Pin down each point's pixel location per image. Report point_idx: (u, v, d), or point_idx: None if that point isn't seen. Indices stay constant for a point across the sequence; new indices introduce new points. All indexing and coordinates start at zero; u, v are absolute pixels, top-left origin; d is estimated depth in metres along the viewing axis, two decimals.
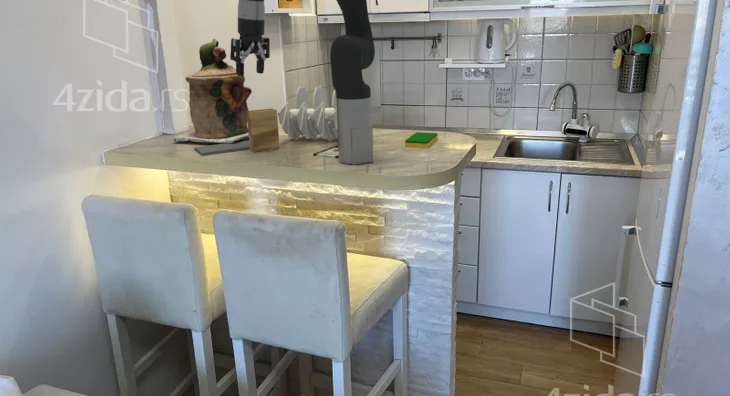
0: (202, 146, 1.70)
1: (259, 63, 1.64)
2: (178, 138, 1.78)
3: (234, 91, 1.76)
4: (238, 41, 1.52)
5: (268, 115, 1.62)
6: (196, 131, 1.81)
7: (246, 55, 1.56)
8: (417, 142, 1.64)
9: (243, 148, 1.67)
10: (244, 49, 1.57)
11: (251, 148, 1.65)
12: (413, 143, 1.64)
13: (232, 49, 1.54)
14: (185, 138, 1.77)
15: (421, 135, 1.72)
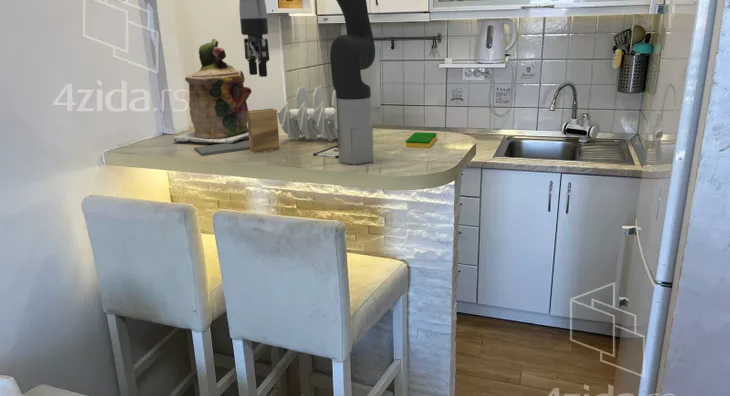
0: (202, 146, 1.70)
1: (252, 65, 1.62)
2: (178, 138, 1.78)
3: (234, 91, 1.76)
4: (267, 40, 1.52)
5: (268, 115, 1.62)
6: (196, 131, 1.81)
7: (265, 55, 1.56)
8: (418, 142, 1.64)
9: (243, 148, 1.67)
10: None
11: (251, 148, 1.65)
12: (414, 143, 1.64)
13: (262, 49, 1.51)
14: (185, 138, 1.77)
15: (421, 135, 1.72)
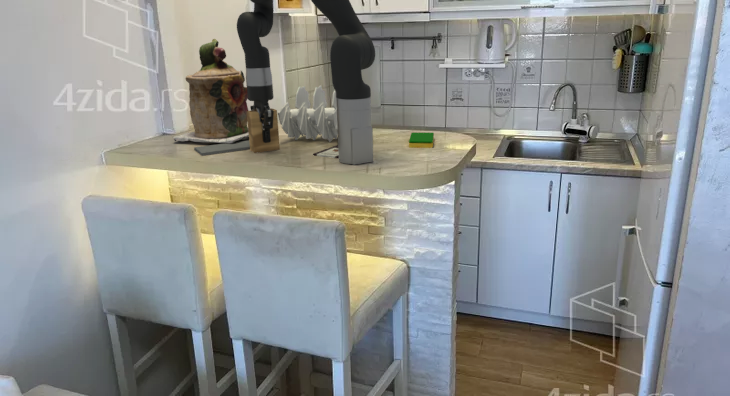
0: (202, 146, 1.70)
1: None
2: (178, 138, 1.78)
3: (234, 91, 1.76)
4: (273, 112, 1.58)
5: None
6: (196, 131, 1.81)
7: None
8: (422, 142, 1.64)
9: (243, 148, 1.67)
10: None
11: (251, 147, 1.65)
12: (418, 143, 1.64)
13: (267, 120, 1.58)
14: (185, 138, 1.77)
15: (420, 135, 1.72)
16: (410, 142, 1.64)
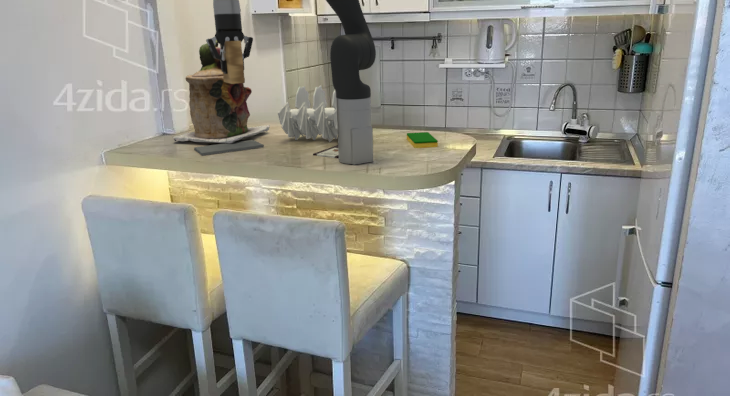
0: (202, 146, 1.70)
1: None
2: (178, 138, 1.78)
3: (234, 91, 1.76)
4: None
5: None
6: (196, 131, 1.81)
7: None
8: (427, 142, 1.64)
9: (243, 148, 1.67)
10: None
11: (236, 79, 1.61)
12: (423, 143, 1.64)
13: None
14: (185, 138, 1.77)
15: (419, 135, 1.71)
16: (416, 143, 1.63)
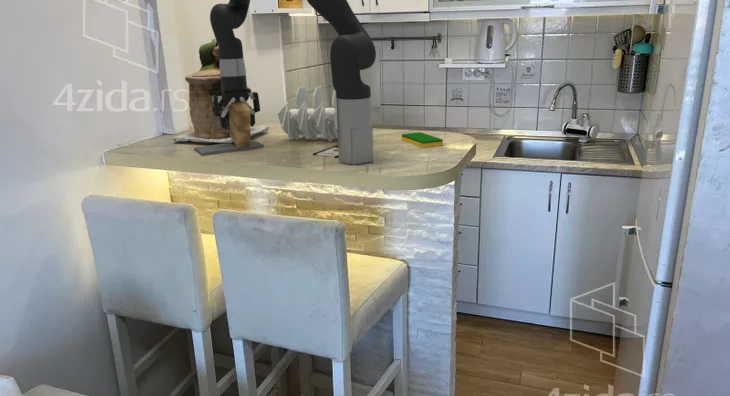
0: (202, 146, 1.70)
1: None
2: (178, 138, 1.78)
3: None
4: None
5: None
6: (196, 131, 1.81)
7: None
8: (434, 141, 1.64)
9: (243, 148, 1.67)
10: None
11: (242, 143, 1.67)
12: (431, 143, 1.64)
13: None
14: (185, 138, 1.77)
15: (417, 135, 1.71)
16: (424, 142, 1.63)
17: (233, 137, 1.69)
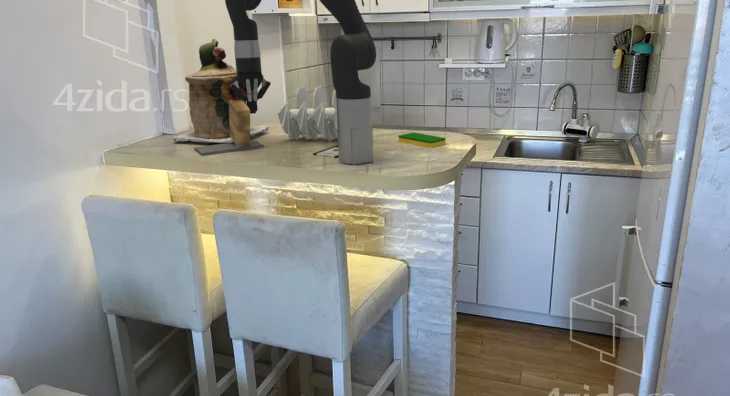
0: (202, 146, 1.70)
1: None
2: (178, 138, 1.78)
3: None
4: None
5: None
6: (196, 131, 1.81)
7: None
8: (439, 140, 1.65)
9: (243, 148, 1.67)
10: None
11: (242, 143, 1.67)
12: (436, 142, 1.65)
13: None
14: (185, 138, 1.77)
15: (416, 136, 1.71)
16: (431, 142, 1.63)
17: (233, 137, 1.69)
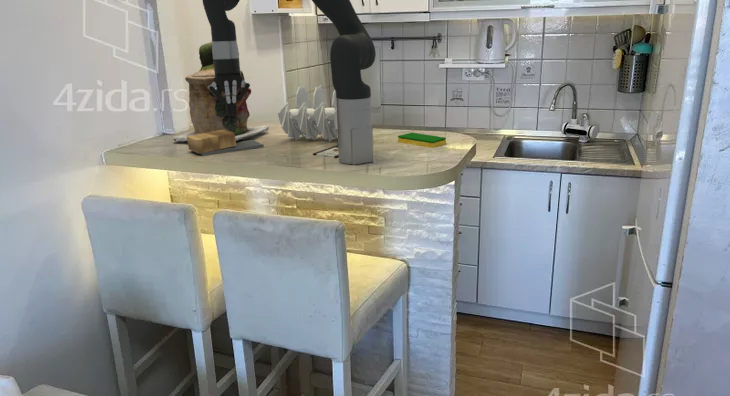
0: None
1: None
2: (178, 138, 1.78)
3: None
4: None
5: (194, 136, 1.64)
6: (196, 131, 1.81)
7: None
8: (440, 140, 1.66)
9: (243, 148, 1.67)
10: None
11: (232, 141, 1.66)
12: (437, 142, 1.65)
13: None
14: (185, 138, 1.77)
15: (416, 136, 1.71)
16: (433, 142, 1.63)
17: None
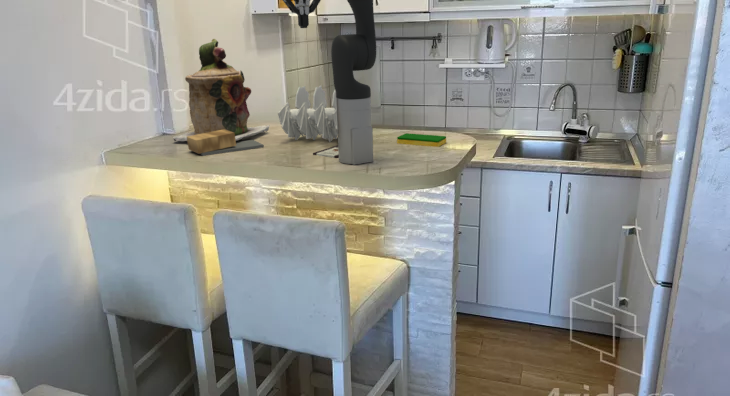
0: None
1: None
2: (178, 138, 1.78)
3: (234, 91, 1.76)
4: None
5: (194, 137, 1.64)
6: (196, 131, 1.81)
7: None
8: (443, 139, 1.67)
9: (243, 148, 1.67)
10: None
11: (232, 140, 1.66)
12: (441, 141, 1.66)
13: None
14: (185, 138, 1.77)
15: (416, 136, 1.70)
16: (439, 141, 1.64)
17: None
